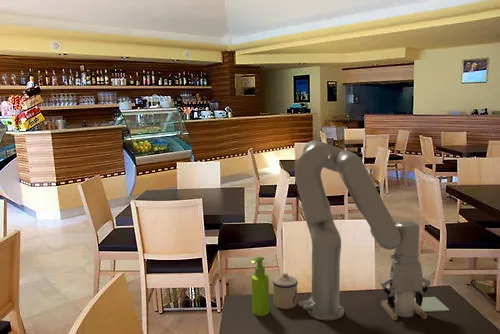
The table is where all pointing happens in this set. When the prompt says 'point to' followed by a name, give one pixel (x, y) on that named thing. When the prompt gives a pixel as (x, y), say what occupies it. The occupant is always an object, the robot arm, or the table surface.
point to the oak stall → (394, 316)
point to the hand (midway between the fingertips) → (404, 305)
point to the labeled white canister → (404, 304)
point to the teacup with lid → (285, 291)
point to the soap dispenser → (260, 289)
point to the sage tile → (432, 305)
